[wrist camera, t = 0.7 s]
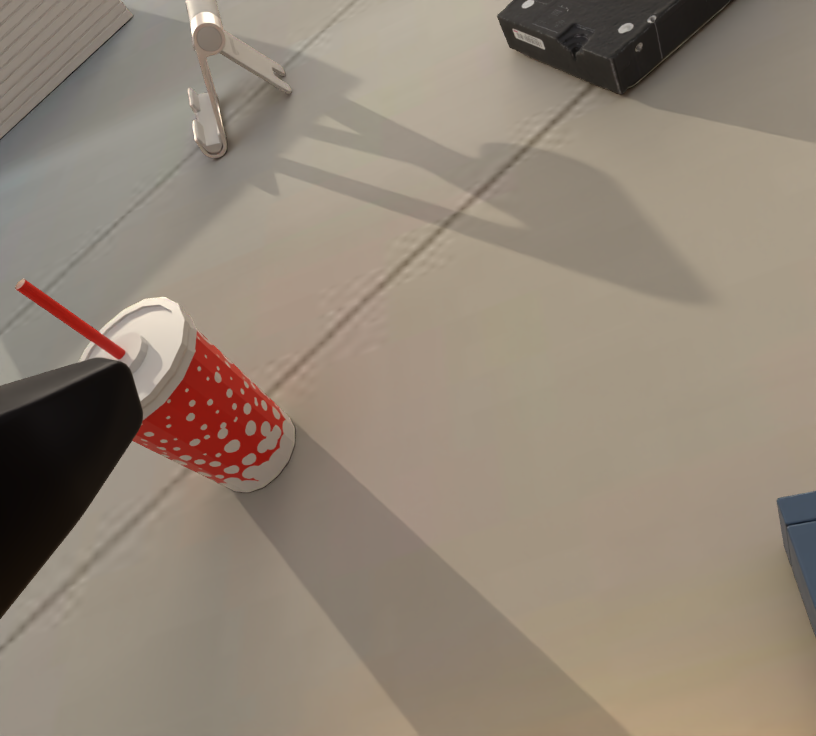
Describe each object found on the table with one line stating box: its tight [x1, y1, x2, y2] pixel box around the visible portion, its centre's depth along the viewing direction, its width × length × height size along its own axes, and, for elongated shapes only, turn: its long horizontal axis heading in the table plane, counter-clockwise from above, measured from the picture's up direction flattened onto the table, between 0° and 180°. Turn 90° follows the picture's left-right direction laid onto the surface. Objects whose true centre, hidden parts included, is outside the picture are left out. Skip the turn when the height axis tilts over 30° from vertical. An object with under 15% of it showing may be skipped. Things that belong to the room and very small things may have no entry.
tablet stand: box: [185, 0, 291, 158], centre depth 52 cm, size 9×8×8 cm
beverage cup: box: [15, 279, 295, 493], centre depth 30 cm, size 6×6×14 cm
